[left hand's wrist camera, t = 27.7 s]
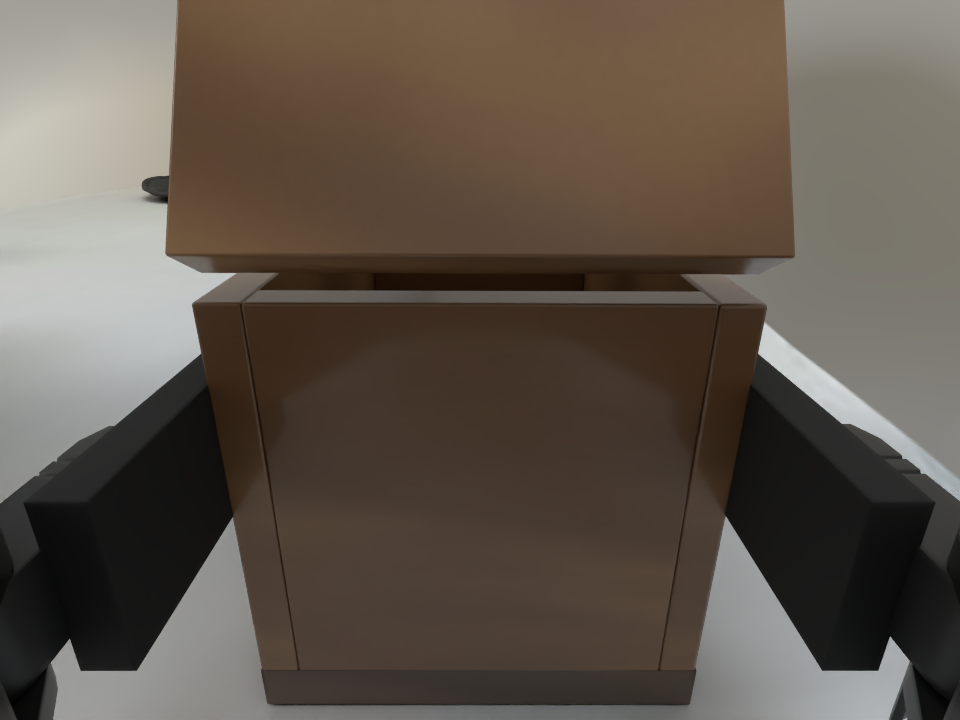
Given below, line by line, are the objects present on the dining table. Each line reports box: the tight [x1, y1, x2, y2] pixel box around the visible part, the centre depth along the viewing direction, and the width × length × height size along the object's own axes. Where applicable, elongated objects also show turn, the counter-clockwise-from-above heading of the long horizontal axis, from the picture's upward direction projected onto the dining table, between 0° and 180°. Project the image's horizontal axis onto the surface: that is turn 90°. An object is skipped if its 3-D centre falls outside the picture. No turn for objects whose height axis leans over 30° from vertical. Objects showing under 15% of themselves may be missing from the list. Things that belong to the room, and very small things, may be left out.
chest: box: [192, 273, 767, 704], centre depth 17 cm, size 13×9×9 cm
